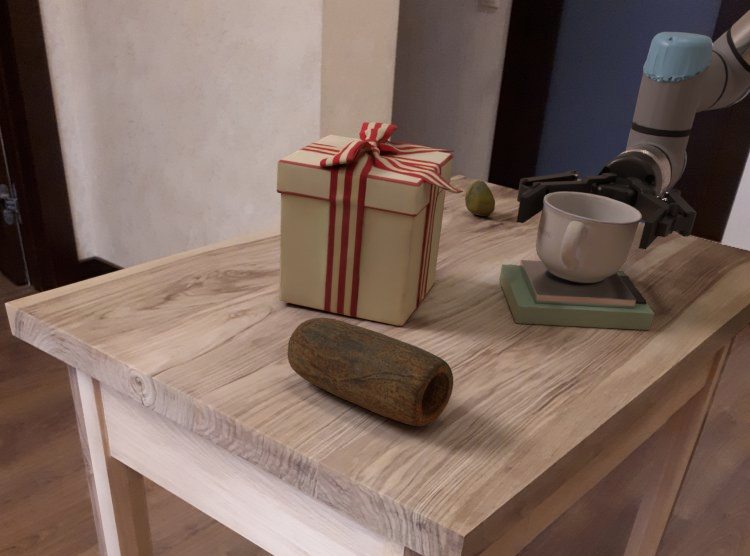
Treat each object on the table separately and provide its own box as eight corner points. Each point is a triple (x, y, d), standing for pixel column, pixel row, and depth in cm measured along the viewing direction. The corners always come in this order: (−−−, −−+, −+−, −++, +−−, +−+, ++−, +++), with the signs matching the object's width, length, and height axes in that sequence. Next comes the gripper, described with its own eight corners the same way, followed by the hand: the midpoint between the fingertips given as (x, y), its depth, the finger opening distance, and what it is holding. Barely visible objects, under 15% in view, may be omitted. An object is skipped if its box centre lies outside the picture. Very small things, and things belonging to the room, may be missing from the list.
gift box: (441, 334, 83) (461, 161, 73) (273, 309, 86) (271, 139, 76) (462, 279, 97) (482, 126, 87) (317, 258, 100) (319, 108, 90)
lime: (467, 209, 121) (471, 175, 118) (498, 214, 120) (503, 180, 117) (458, 216, 118) (462, 181, 115) (489, 222, 117) (494, 187, 114)
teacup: (556, 251, 98) (569, 184, 94) (639, 274, 93) (657, 204, 89) (501, 280, 89) (512, 207, 84) (590, 308, 84) (608, 231, 79)
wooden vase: (458, 414, 70) (468, 344, 66) (415, 446, 65) (423, 373, 61) (324, 362, 77) (326, 296, 73) (276, 388, 72) (275, 318, 68)
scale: (619, 286, 98) (624, 268, 97) (650, 330, 88) (655, 310, 86) (499, 280, 98) (502, 261, 96) (515, 323, 87) (519, 303, 86)
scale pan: (609, 272, 96) (611, 264, 96) (634, 308, 87) (636, 300, 87) (519, 268, 96) (520, 259, 95) (535, 303, 87) (536, 294, 86)
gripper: (725, 233, 97) (690, 283, 82) (533, 194, 106) (470, 233, 91) (745, 168, 93) (713, 209, 78) (543, 134, 102) (478, 165, 87)
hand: (581, 222), depth 84 cm, fingers open, 13 cm apart
